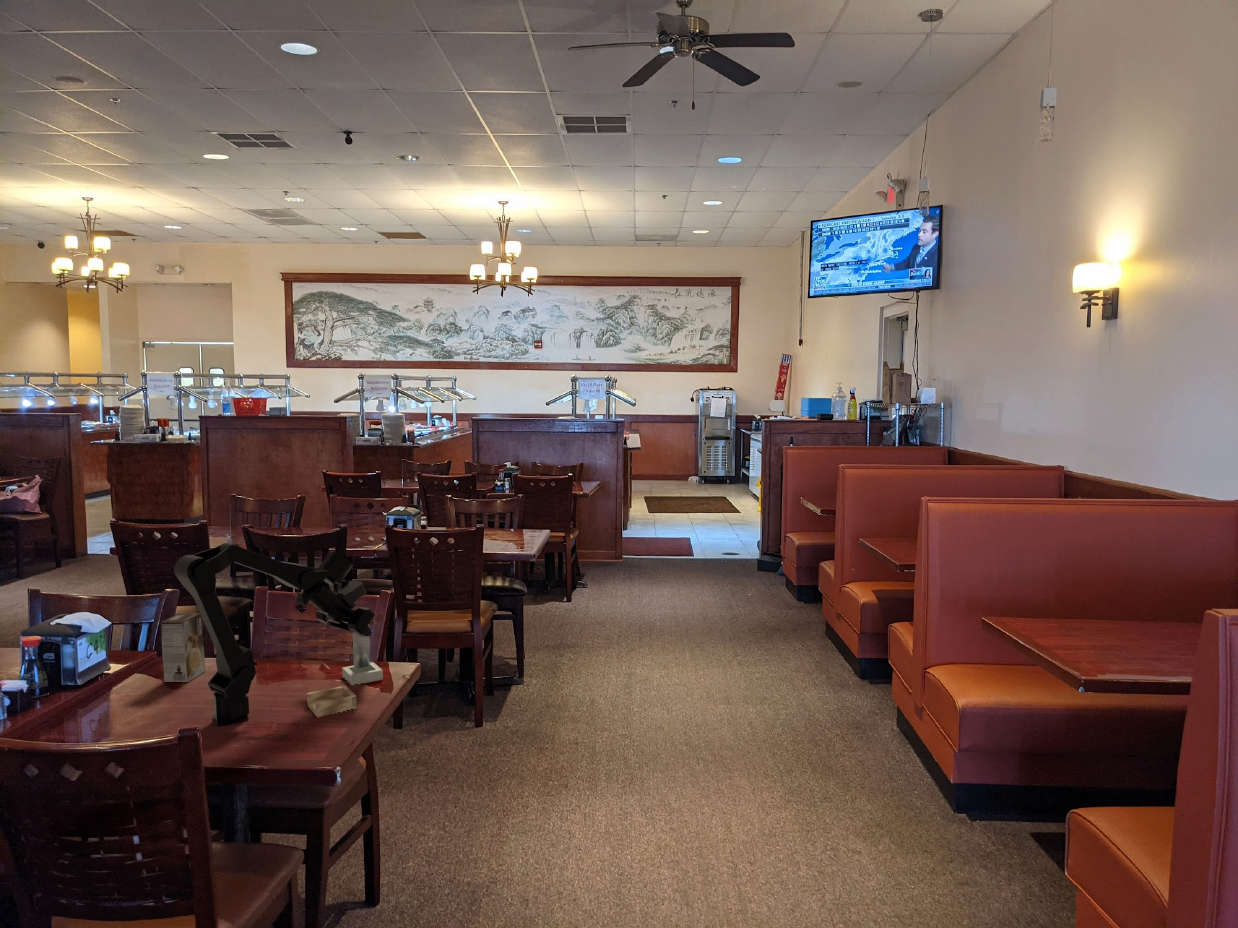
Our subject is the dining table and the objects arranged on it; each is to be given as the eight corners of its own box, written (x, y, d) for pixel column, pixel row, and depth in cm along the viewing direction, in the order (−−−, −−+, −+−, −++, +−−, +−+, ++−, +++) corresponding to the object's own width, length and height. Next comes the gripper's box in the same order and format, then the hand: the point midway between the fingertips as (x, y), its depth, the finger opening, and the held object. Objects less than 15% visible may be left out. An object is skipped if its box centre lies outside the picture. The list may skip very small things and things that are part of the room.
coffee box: (182, 671, 227) (179, 612, 225) (206, 671, 226) (202, 612, 225) (163, 683, 217) (159, 621, 216) (188, 683, 217) (184, 621, 216)
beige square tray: (317, 717, 193) (316, 704, 193) (307, 705, 201) (307, 692, 201) (356, 708, 198) (356, 696, 198) (346, 697, 206) (345, 685, 206)
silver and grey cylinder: (356, 668, 216) (354, 610, 215) (352, 664, 220) (350, 607, 218) (372, 665, 219) (370, 608, 217) (367, 661, 222) (365, 605, 221)
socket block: (351, 685, 214) (351, 675, 214) (342, 676, 221) (342, 667, 220) (382, 679, 218) (382, 669, 218) (373, 670, 225) (372, 661, 225)
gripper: (367, 577, 208) (405, 612, 218) (325, 568, 220) (363, 601, 229) (339, 615, 203) (380, 650, 212) (298, 603, 215) (338, 636, 224)
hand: (365, 633), depth 220 cm, fingers closed on silver and grey cylinder, 4 cm apart
